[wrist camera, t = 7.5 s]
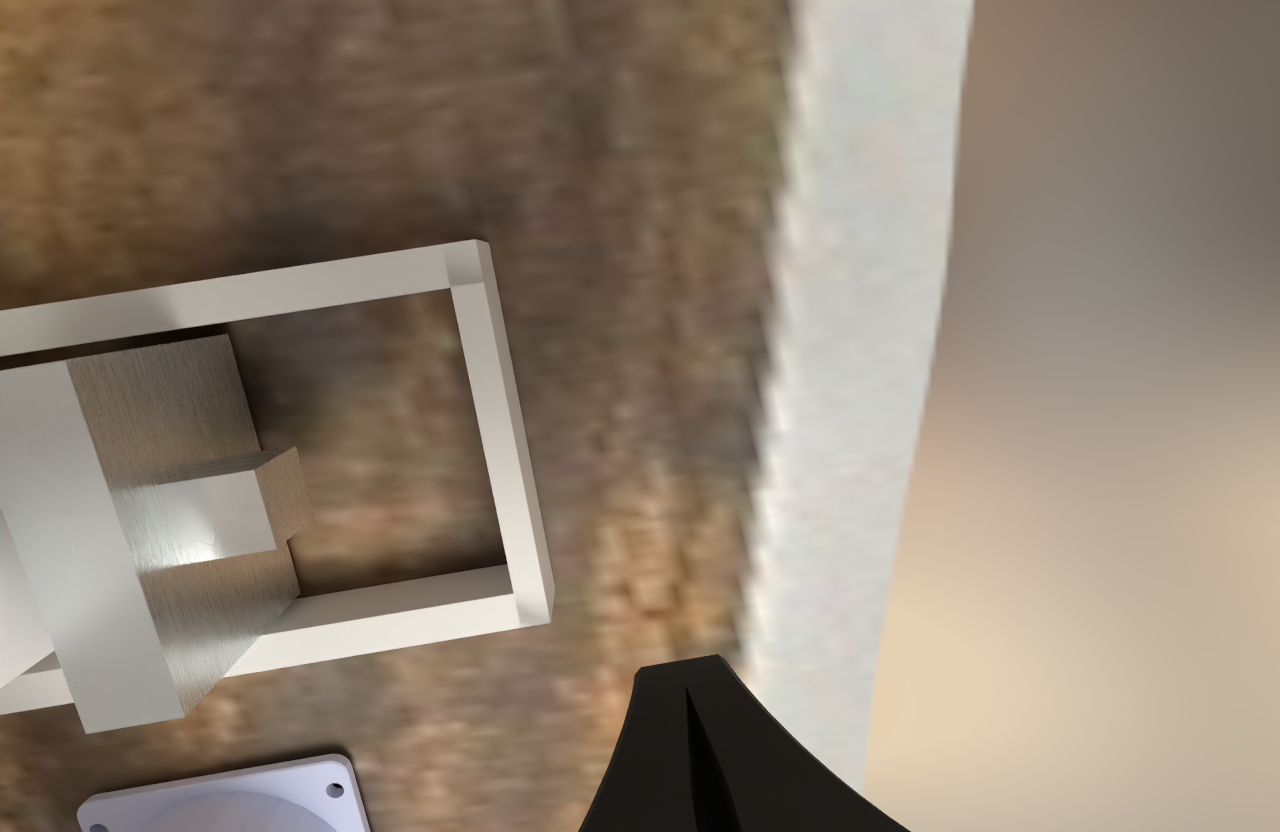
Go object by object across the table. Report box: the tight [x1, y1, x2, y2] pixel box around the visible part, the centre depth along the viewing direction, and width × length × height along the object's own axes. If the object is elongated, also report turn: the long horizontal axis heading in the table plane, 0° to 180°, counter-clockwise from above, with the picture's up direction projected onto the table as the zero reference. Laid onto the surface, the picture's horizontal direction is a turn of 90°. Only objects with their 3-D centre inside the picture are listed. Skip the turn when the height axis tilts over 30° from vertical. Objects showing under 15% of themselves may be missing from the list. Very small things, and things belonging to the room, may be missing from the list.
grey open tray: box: [0, 239, 555, 715], centre depth 16 cm, size 19×10×6 cm, turn 98°
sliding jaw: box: [0, 334, 315, 734], centre depth 16 cm, size 4×7×6 cm, turn 8°
